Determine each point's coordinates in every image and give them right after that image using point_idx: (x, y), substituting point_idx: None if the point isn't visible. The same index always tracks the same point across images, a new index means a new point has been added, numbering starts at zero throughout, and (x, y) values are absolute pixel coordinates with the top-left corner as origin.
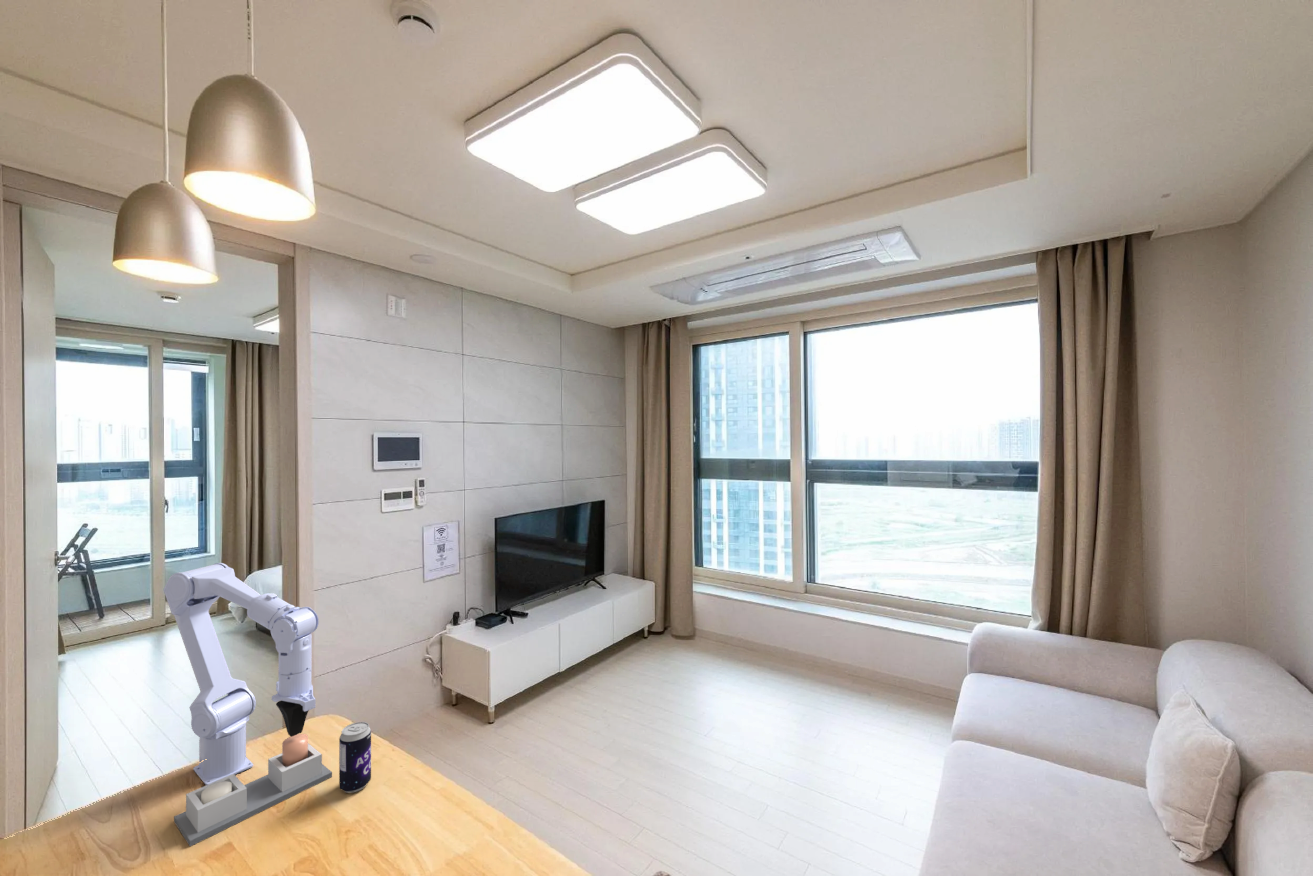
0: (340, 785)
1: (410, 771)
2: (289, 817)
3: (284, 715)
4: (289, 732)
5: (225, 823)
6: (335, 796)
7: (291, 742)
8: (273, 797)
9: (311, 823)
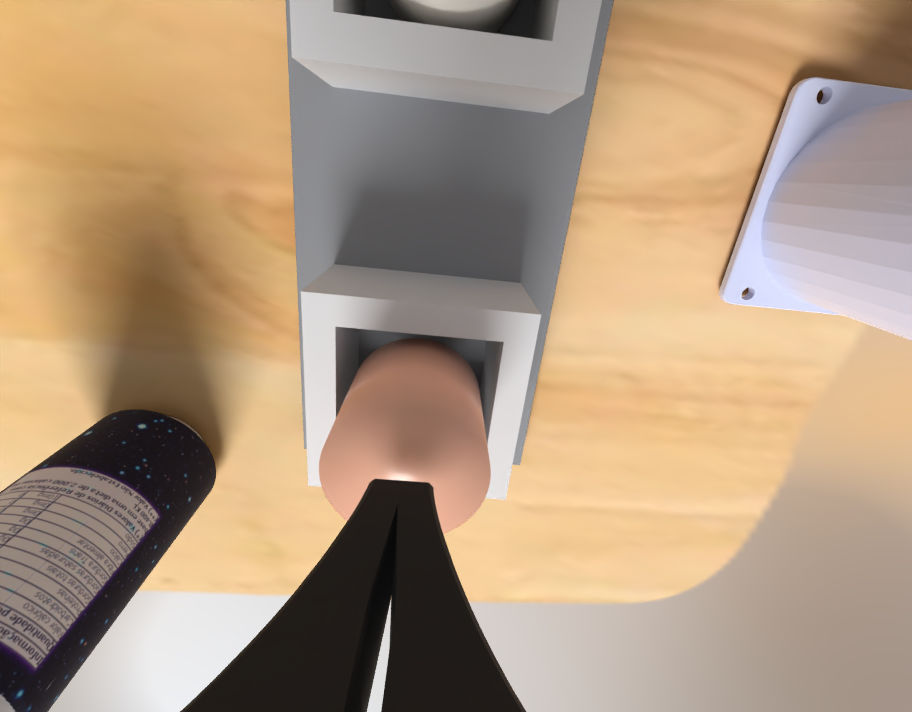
0: (130, 419)
1: None
2: (142, 203)
3: (387, 689)
4: (363, 502)
5: None
6: (153, 381)
7: (393, 449)
8: (319, 218)
9: (16, 236)
